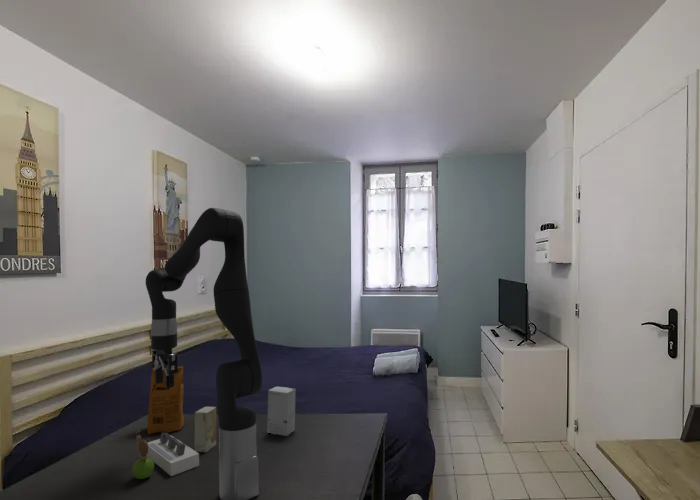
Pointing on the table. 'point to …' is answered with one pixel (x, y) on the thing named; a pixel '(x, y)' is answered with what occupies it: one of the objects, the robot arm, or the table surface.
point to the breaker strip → (172, 457)
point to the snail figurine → (142, 460)
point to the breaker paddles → (172, 443)
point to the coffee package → (166, 404)
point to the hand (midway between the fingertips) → (164, 385)
